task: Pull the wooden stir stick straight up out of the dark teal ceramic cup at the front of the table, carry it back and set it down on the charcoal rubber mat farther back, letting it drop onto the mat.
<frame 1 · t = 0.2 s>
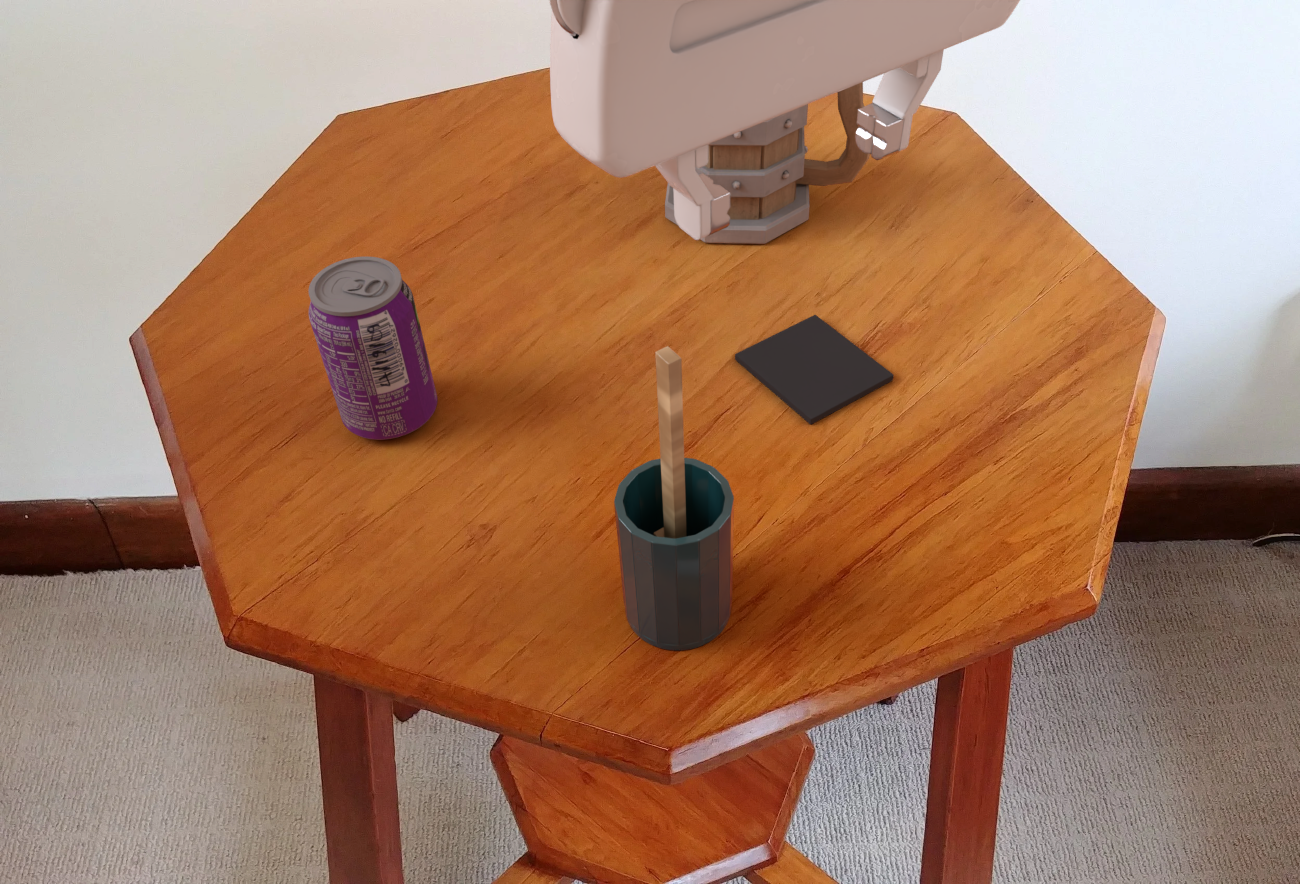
hand: (794, 187, 46), 31 cm above the table, tool pointing down, fingers open, 8 cm apart
tankard: (778, 206, 101), on the table
mat: (812, 370, 85), on the table
beverage can: (392, 415, 84), on the table
cup: (678, 606, 70), on the table
wooden stir stick: (677, 600, 69), point 1 cm above the table, touching cup
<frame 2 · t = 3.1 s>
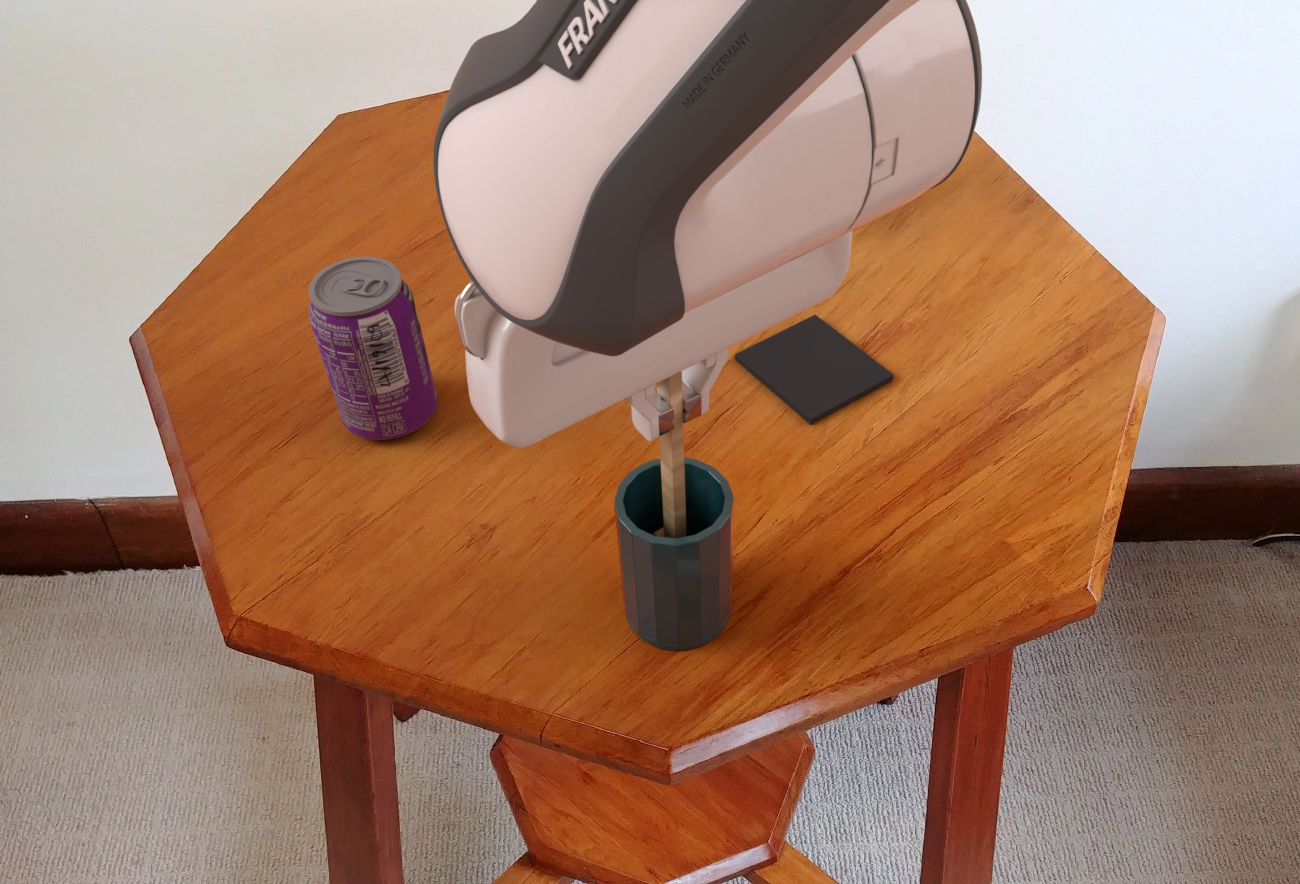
hand: (671, 420, 58), 16 cm above the table, tool pointing down, fingers closed on wooden stir stick, 1 cm apart
wooden stir stick: (677, 600, 69), point 1 cm above the table, touching cup, gripper
everything else where it was.
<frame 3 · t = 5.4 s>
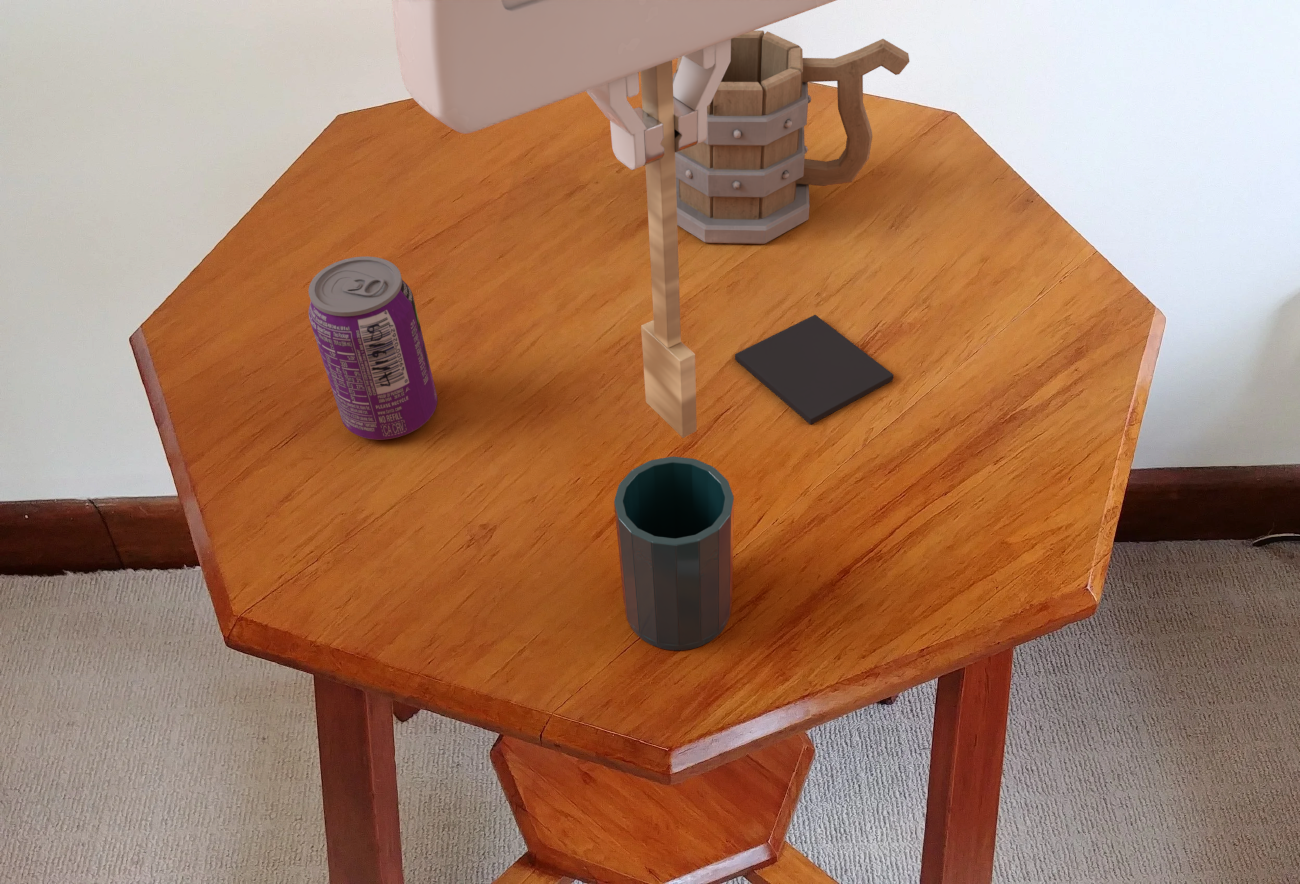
hand: (660, 150, 47), 32 cm above the table, tool pointing down, fingers closed on wooden stir stick
wooden stir stick: (670, 416, 58), point 16 cm above the table, touching gripper
everything else where it was.
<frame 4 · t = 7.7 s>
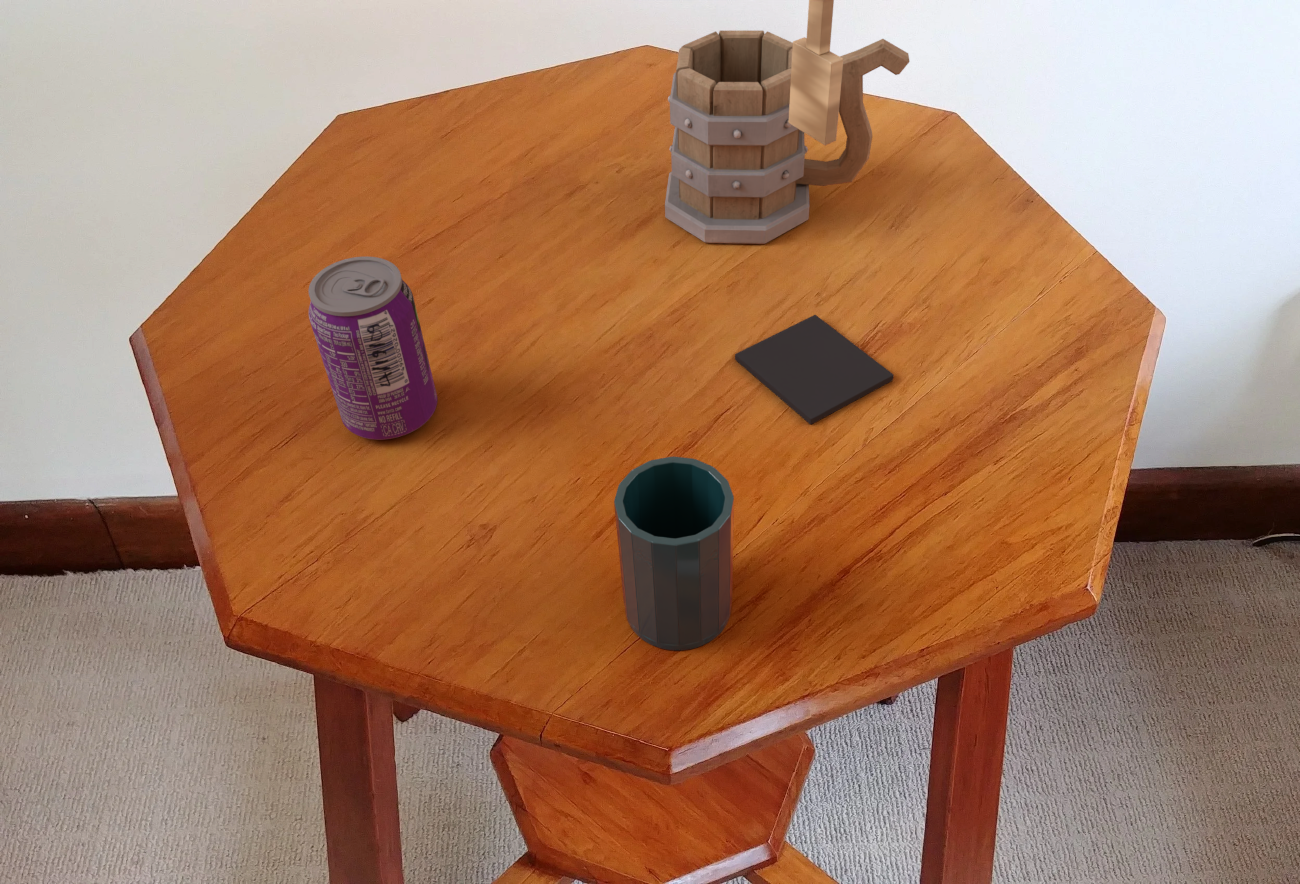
wooden stir stick: (811, 132, 67), point 22 cm above the table, touching gripper
everything else where it was.
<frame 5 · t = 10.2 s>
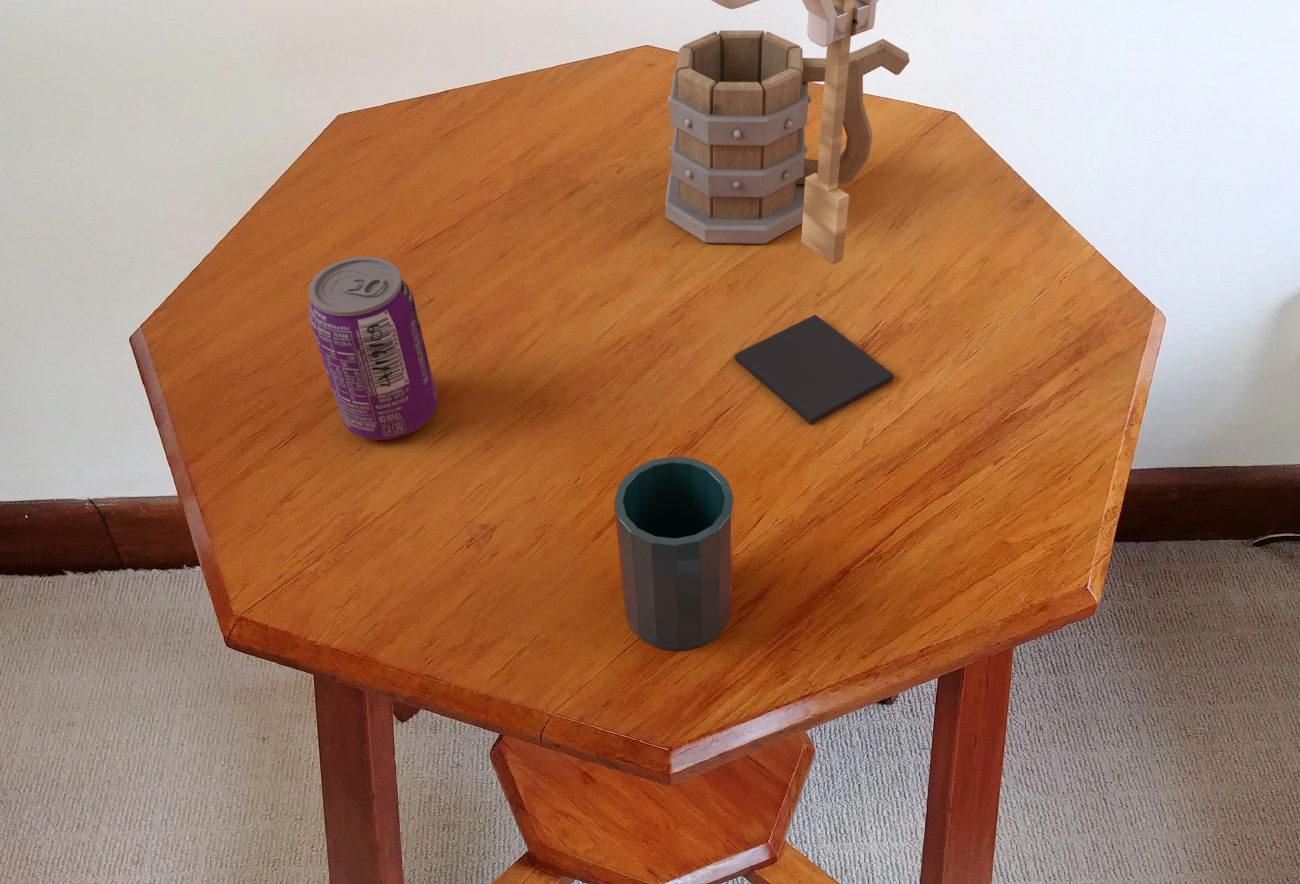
hand: (840, 35, 66), 26 cm above the table, tool pointing down, fingers closed on wooden stir stick
wooden stir stick: (821, 251, 77), point 11 cm above the table, touching gripper
everything else where it was.
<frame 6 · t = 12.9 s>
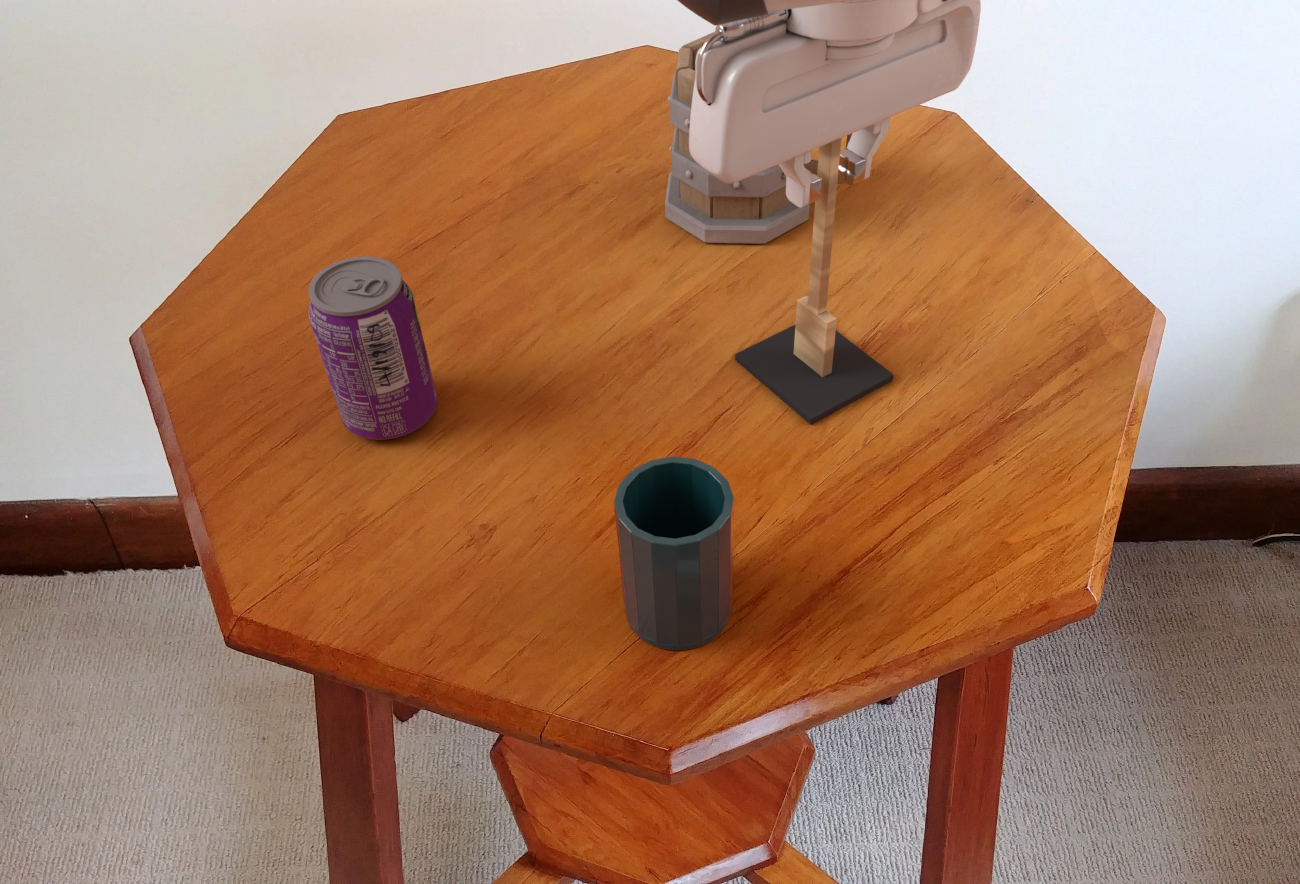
hand: (827, 189, 74), 16 cm above the table, tool pointing down, fingers open, 3 cm apart
wooden stir stick: (812, 363, 85), point 1 cm above the table, touching mat
everything else where it was.
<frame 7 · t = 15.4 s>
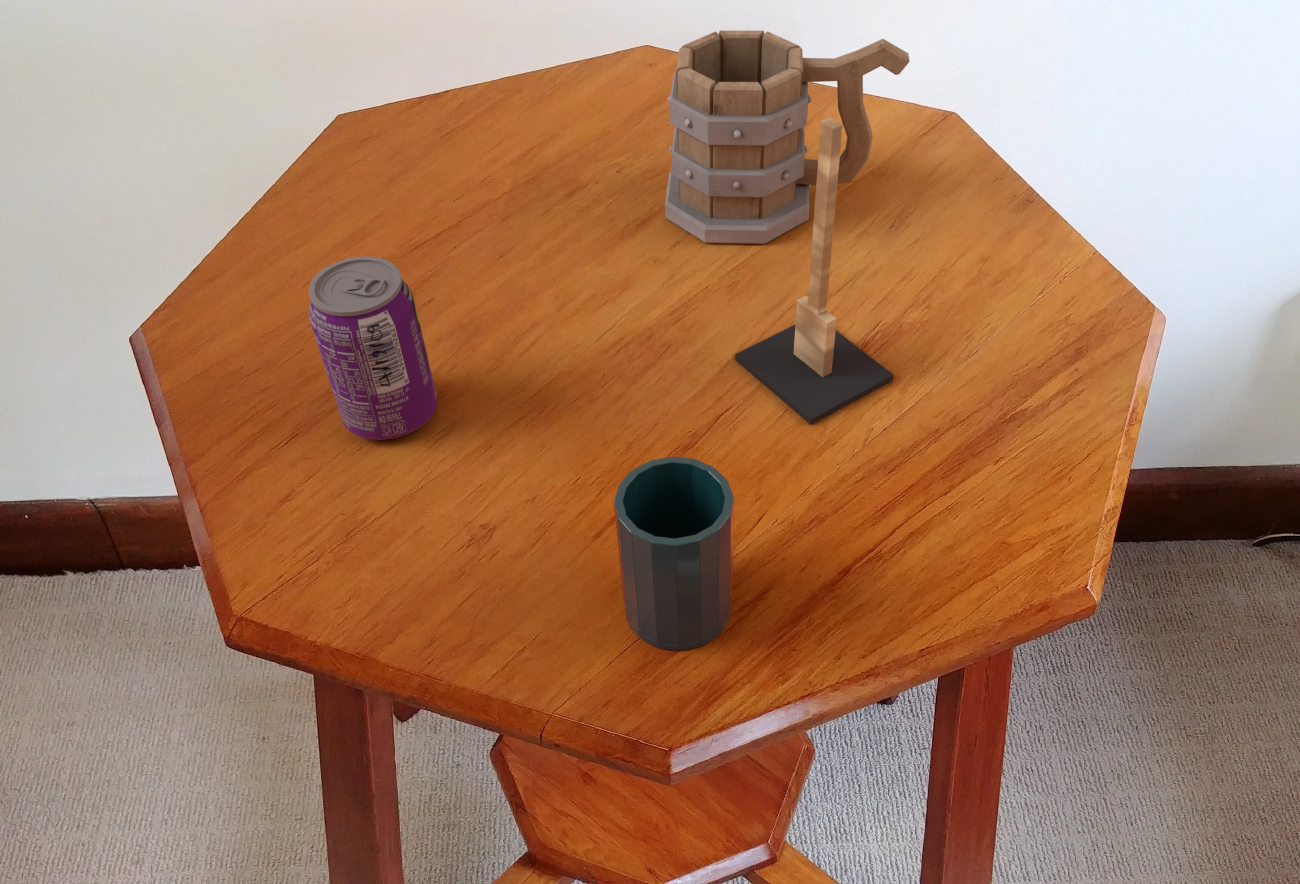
nothing on the table moved.
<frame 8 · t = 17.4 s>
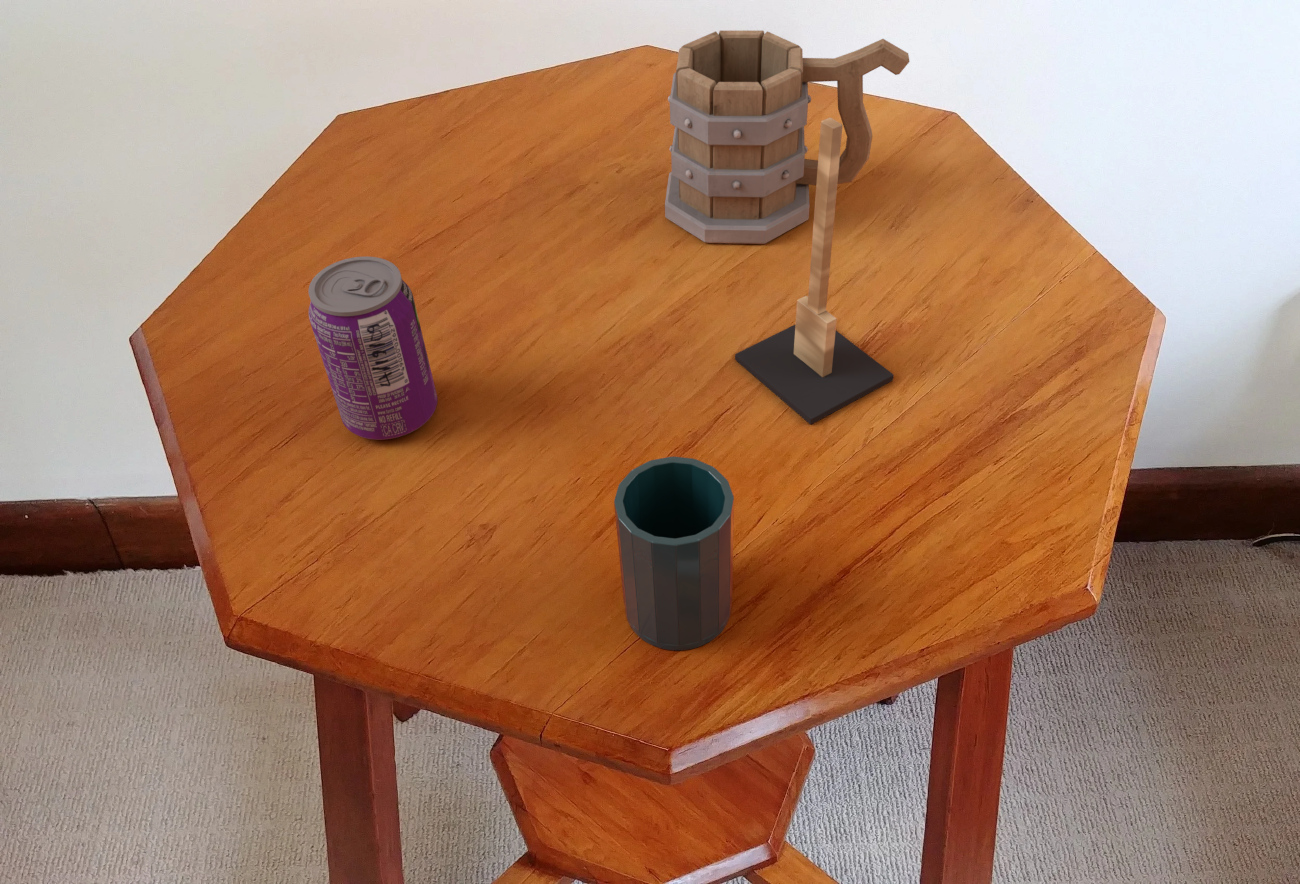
nothing on the table moved.
at the end: wooden stir stick inside the target area on the mat (0.1 cm from its centre), point 0.6 cm above the mat's base; the gripper is holding nothing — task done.
